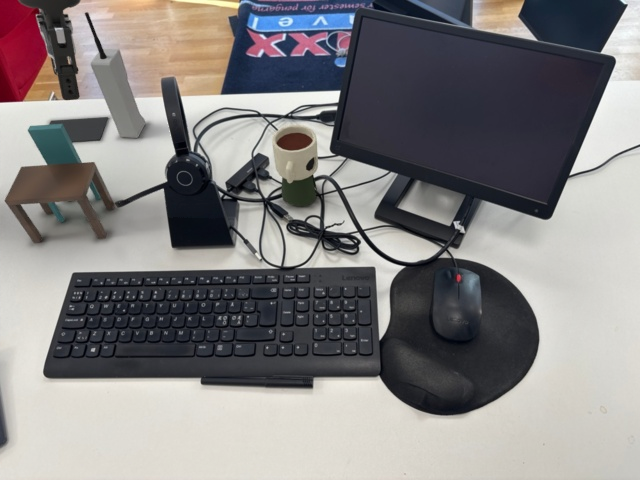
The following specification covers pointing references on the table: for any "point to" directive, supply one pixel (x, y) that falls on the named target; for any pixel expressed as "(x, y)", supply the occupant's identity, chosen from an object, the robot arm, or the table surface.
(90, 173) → the desk
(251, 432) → the table surface
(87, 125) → the mat
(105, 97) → the vintage mobile phone
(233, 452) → the table surface
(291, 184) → the character mug
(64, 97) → the robot arm
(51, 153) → the chair
